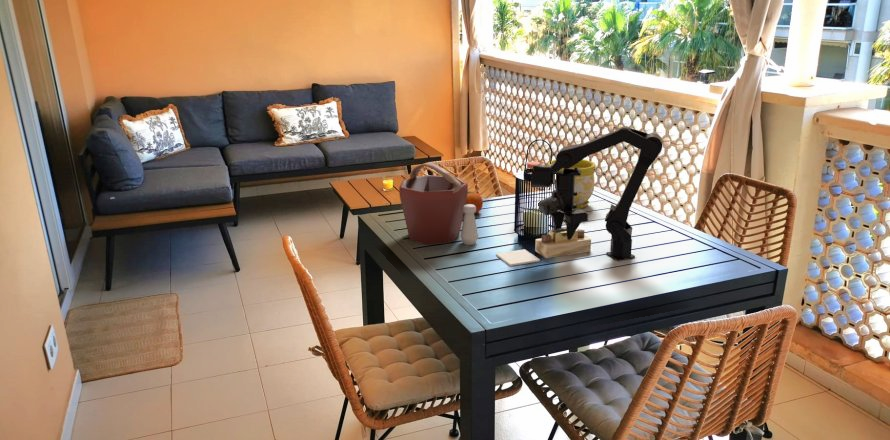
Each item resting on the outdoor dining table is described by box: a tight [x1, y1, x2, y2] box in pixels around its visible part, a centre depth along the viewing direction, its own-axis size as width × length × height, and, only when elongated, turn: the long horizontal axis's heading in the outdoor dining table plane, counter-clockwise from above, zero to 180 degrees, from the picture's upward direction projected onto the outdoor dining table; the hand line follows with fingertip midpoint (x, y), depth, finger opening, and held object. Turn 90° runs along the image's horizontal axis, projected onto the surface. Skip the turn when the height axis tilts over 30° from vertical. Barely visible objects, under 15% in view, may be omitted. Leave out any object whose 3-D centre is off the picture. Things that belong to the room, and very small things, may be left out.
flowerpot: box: [547, 159, 597, 210], centre depth 267 cm, size 18×18×16 cm
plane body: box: [534, 228, 592, 259], centre depth 219 cm, size 7×16×6 cm, turn 111°
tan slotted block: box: [548, 226, 578, 243], centre depth 218 cm, size 4×8×4 cm, turn 111°
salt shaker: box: [460, 204, 479, 246], centre depth 227 cm, size 6×6×13 cm
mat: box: [495, 248, 541, 267], centre depth 215 cm, size 10×10×1 cm
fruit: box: [463, 190, 484, 215], centre depth 260 cm, size 11×10×8 cm
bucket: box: [398, 162, 469, 246], centre depth 232 cm, size 24×22×25 cm
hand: (563, 236), depth 219 cm, fingers open, 7 cm apart
